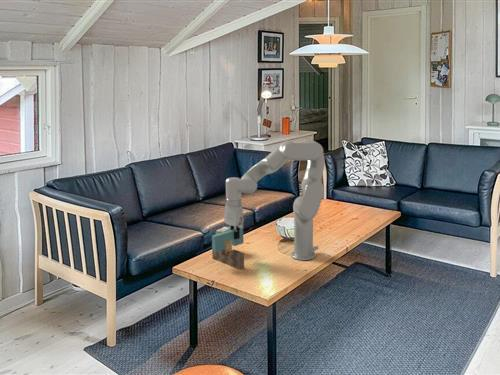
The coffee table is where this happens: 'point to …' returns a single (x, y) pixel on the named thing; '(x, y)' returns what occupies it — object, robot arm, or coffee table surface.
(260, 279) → the coffee table surface
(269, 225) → the coffee table surface
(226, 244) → the supplement box
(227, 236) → the teal plate
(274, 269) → the coffee table surface
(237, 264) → the brown flat notched block
